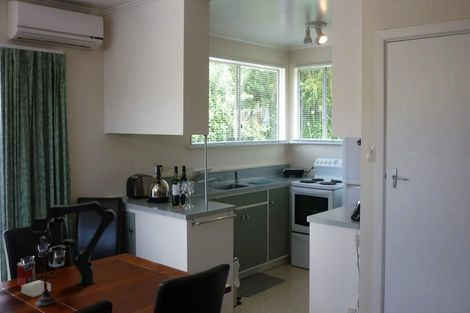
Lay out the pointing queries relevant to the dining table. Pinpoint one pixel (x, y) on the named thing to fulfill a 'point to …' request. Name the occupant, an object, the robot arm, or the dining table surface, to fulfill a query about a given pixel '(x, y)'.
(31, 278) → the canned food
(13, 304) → the dining table surface
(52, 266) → the block
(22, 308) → the dining table surface
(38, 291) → the base box
